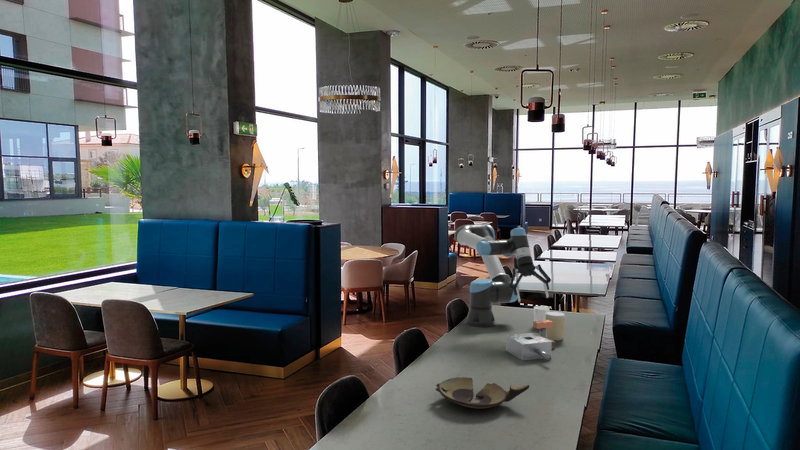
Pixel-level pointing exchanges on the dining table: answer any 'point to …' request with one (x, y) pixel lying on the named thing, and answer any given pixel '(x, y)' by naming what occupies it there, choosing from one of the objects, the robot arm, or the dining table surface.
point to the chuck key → (543, 326)
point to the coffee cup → (555, 325)
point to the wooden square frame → (552, 342)
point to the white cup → (540, 313)
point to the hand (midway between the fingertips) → (533, 299)
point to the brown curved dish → (462, 393)
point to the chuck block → (529, 346)
